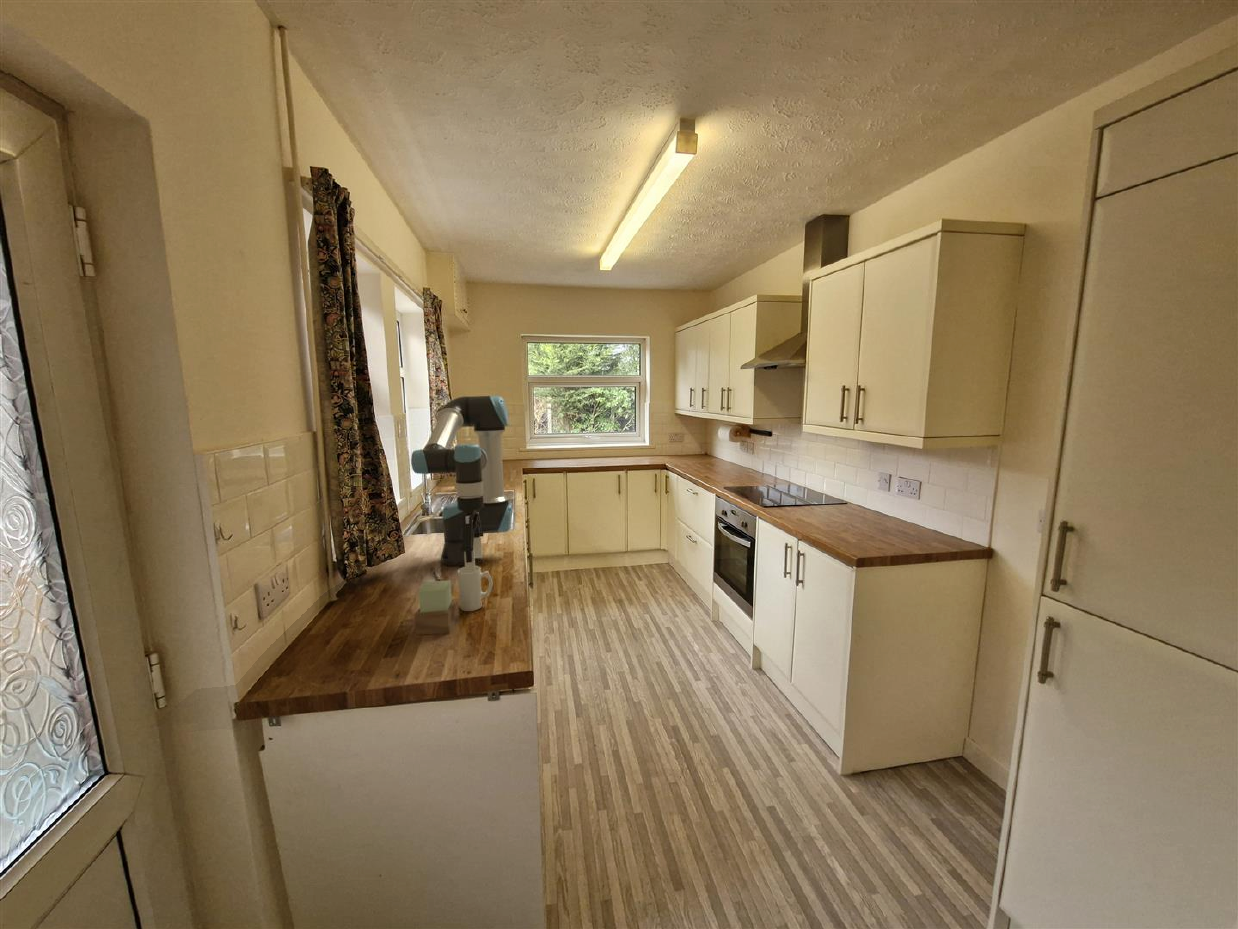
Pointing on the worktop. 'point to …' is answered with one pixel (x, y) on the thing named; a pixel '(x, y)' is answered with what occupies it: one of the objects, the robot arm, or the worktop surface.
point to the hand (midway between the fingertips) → (474, 564)
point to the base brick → (437, 620)
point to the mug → (472, 588)
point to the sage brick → (435, 596)
